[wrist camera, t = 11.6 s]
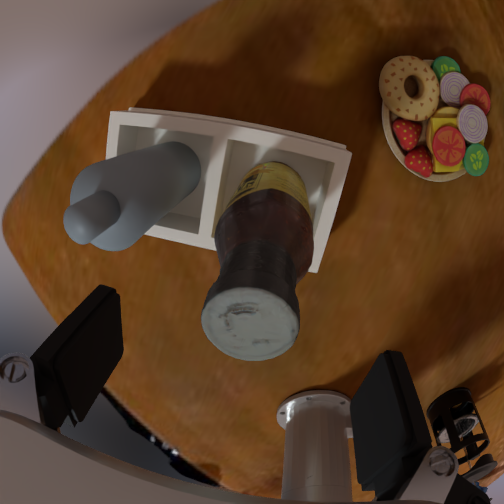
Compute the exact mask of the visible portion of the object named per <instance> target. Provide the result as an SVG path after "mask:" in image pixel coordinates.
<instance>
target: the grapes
mask: <svg viewBox="0 0 504 504" xmlns="http://www.w3.org/2000/svg"><path fill="white" fill-rule="evenodd" d="M472 484H473V485H474V483H472ZM476 485H477V487H478V488H479V489H481V490H482V491H484V492H485V493H486V491H487V489H488V488H487V487H481V486H479V482H476Z"/></svg>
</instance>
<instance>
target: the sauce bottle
mask: <svg viewBox="0 0 504 504" xmlns="http://www.w3.org/2000/svg"><path fill="white" fill-rule="evenodd" d="M214 241H215V247H216V250H217V254H218V258H219V262H220V266H221V269H220V275H219V277H218V279H217V281H216V282H215V283H213V285H212V287H211V288H210V290H209V291H208V294H207V297H206V300H205V302H204V307H203V309H202V314H201V321H202V327H203V329H204V332H205V334H206V336H207V338H208V339H209V340H210V341H211V342H212V343H213V344H214V345H215V346H216V347H217V348H218V349H219V350H221V351H222V352H224V353H225V354H227V355H229V356H232V357H234V358H237V359H242V360H248V361H262V360H266V359H271V358H274V357H276V356H278V355H281V354H283V353H284V352H285V351H287V350H288V349H289V348H290V347H291V346H292V345H293V344H294V342H295V340H296V338H297V335H298V332H299V329H300V314H299V312H300V311H299V302H298V299H297V296H296V294H295V287H296V284H297V283H298V282H299V281H300V280H301V279H302V278H303V277H304V276H305V274H306V273H307V272H308V270H309V268H310V266H311V264H312V258H313V254H314V240H313V224H312V218H311V213H310V207H309V202H308V196H307V191H306V187H305V184H304V182H303V180H302V179H301V176H300V175H299V174H298V172H296V171H295V170H294V169H293V168H291V167H290V166H288V165H287V164H284V163H282V162H277V161H271V162H266V163H262V164H259V165H257V166H255V167H254V168H252V169H251V170H250V171H249V172H248V173H247V174H246V175H245V176H244V178H243V179H242V181H241V183H240V184H239V186H238V188H237V189H236V191H235V192H234V194H233V196H232V197H231V199H230V201H229V203H228V204H227V206H226V208H225V210H224V212H223V213H222V215H221V217H220V219H219V221H218V223H217V225H216V229H215V235H214Z"/></svg>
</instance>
